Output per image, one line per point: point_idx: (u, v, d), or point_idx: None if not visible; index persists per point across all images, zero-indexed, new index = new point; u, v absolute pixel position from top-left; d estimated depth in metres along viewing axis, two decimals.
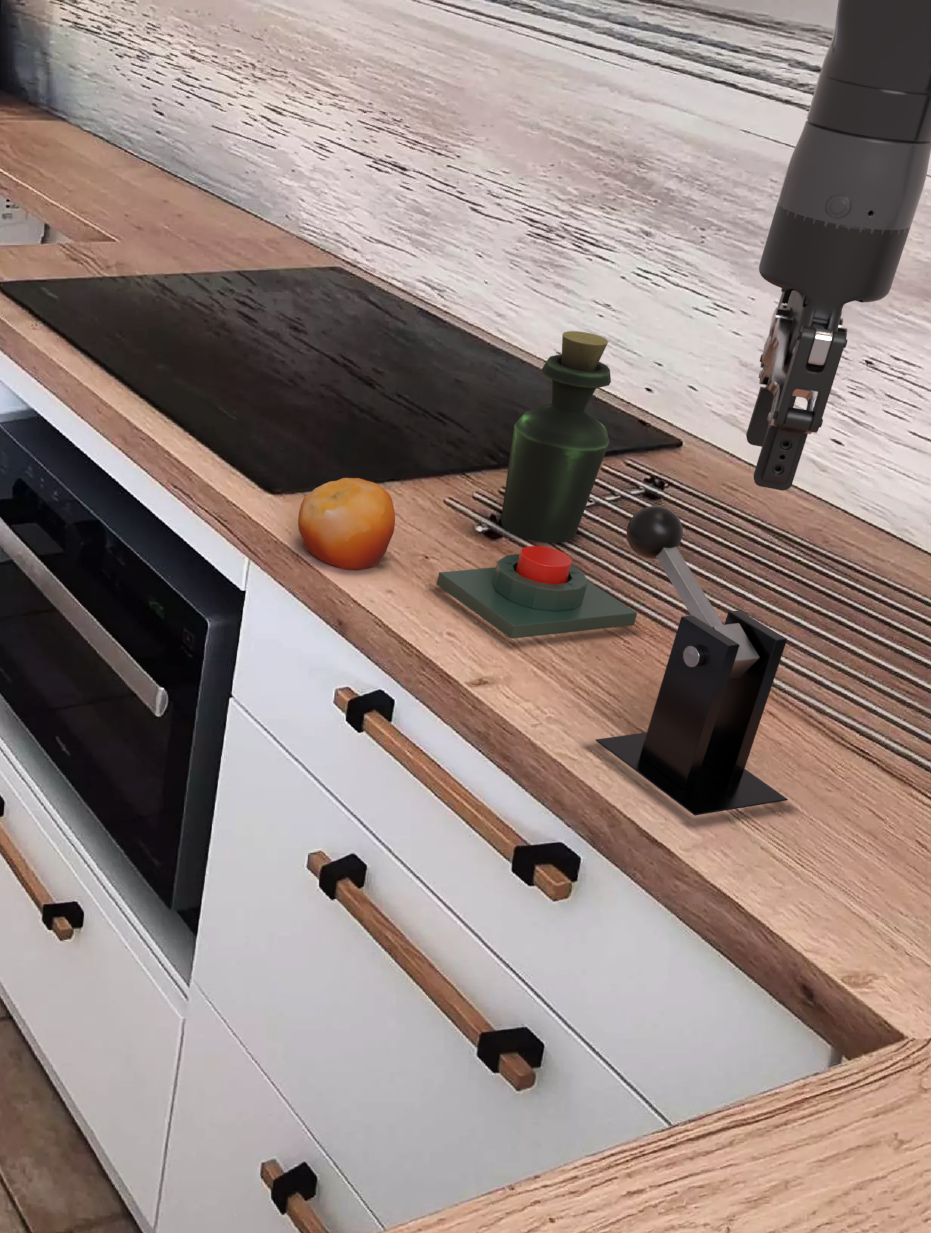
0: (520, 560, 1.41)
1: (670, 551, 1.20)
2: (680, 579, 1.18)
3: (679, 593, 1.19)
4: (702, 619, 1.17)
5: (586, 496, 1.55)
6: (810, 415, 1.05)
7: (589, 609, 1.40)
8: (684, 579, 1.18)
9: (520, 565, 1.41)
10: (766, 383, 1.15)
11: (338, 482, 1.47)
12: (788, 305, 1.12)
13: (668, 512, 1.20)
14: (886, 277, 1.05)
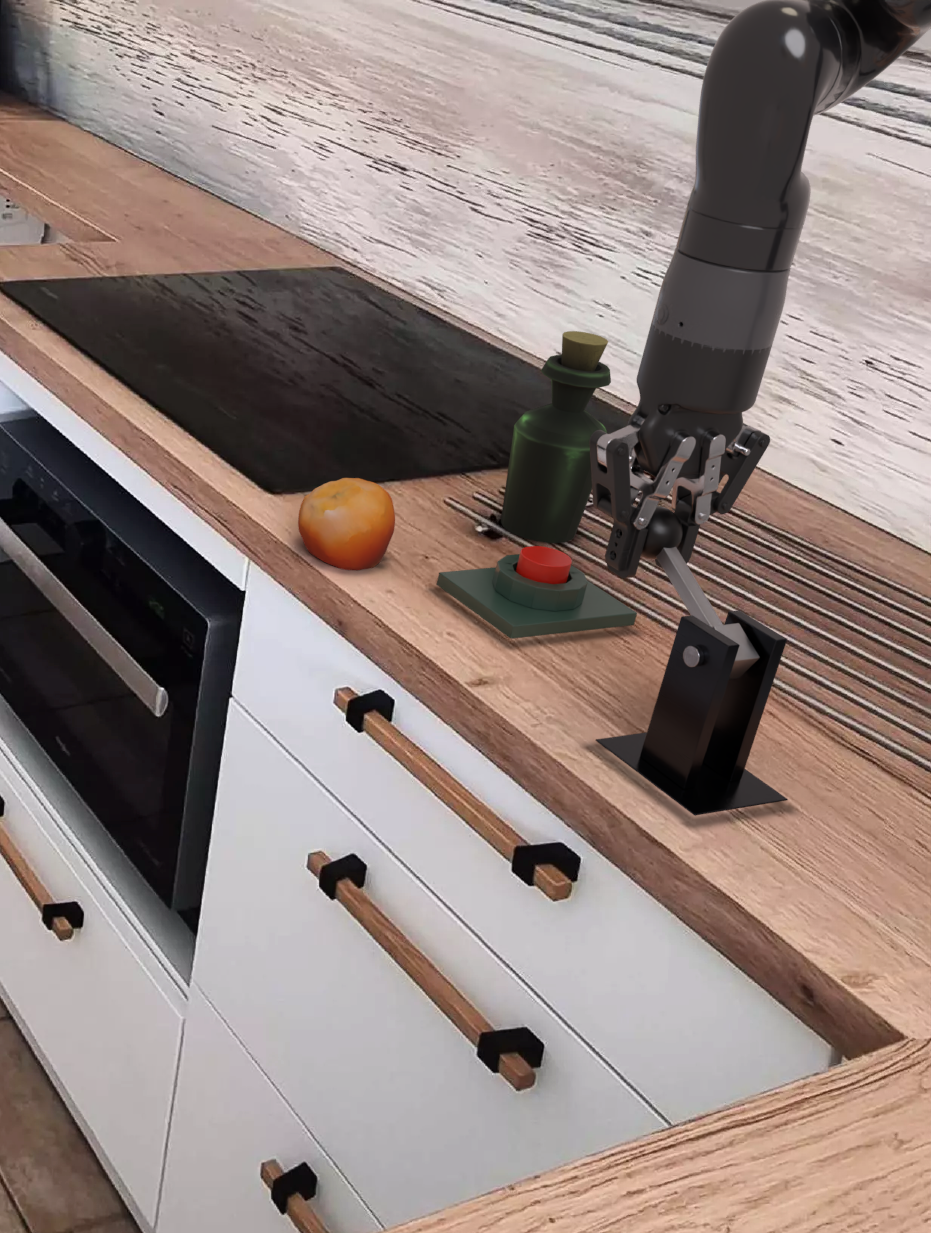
0: (520, 560, 1.41)
1: (670, 551, 1.20)
2: (680, 579, 1.18)
3: (679, 593, 1.19)
4: (702, 619, 1.17)
5: (586, 496, 1.55)
6: None
7: (589, 609, 1.40)
8: (684, 579, 1.18)
9: (520, 565, 1.41)
10: (675, 510, 1.22)
11: (338, 482, 1.47)
12: None
13: (668, 512, 1.20)
14: (705, 390, 1.13)
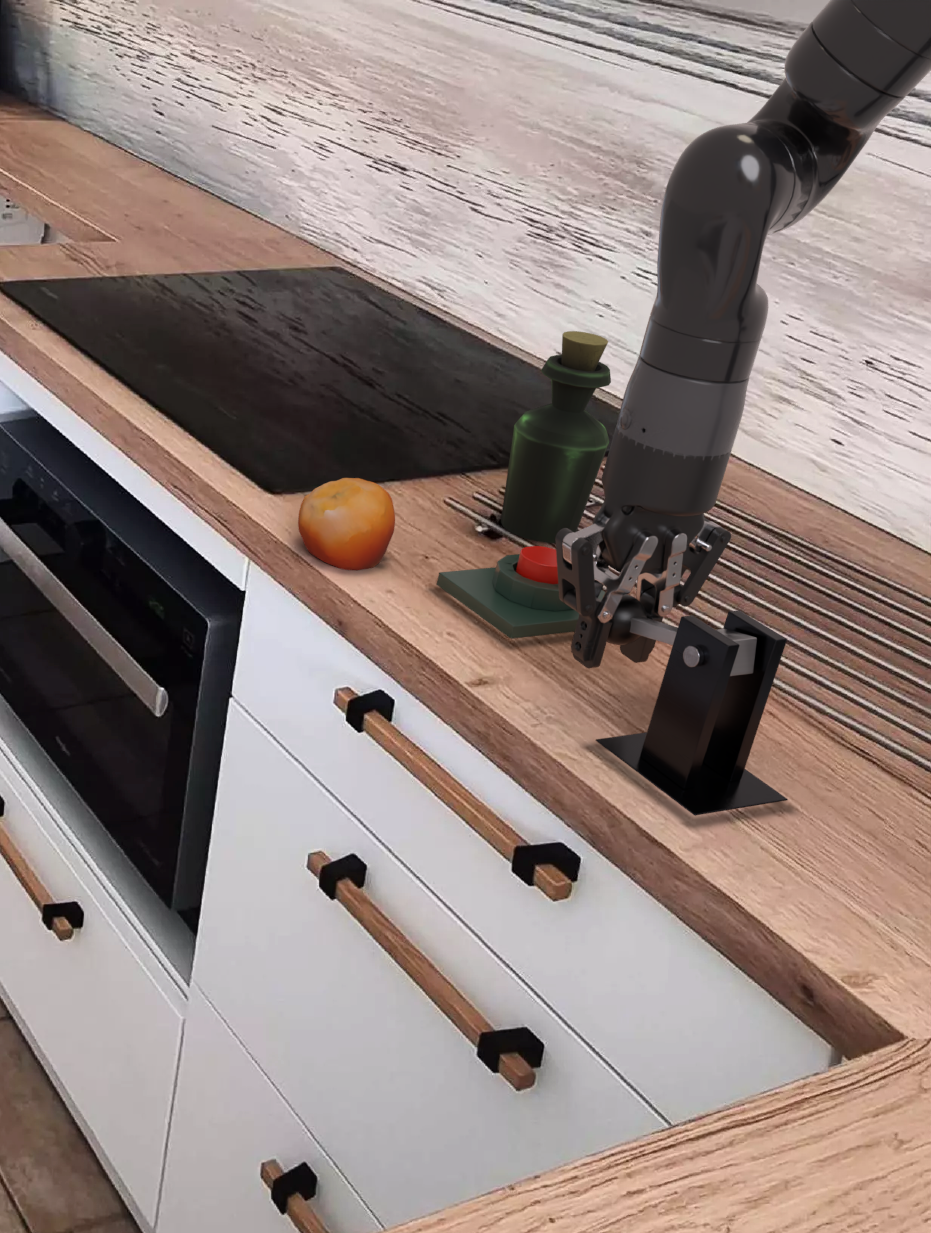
0: (520, 560, 1.41)
1: (638, 618, 1.23)
2: (657, 628, 1.21)
3: (663, 640, 1.21)
4: None
5: (586, 496, 1.55)
6: None
7: None
8: (660, 626, 1.21)
9: (520, 565, 1.41)
10: None
11: (338, 482, 1.47)
12: None
13: None
14: (667, 493, 1.17)
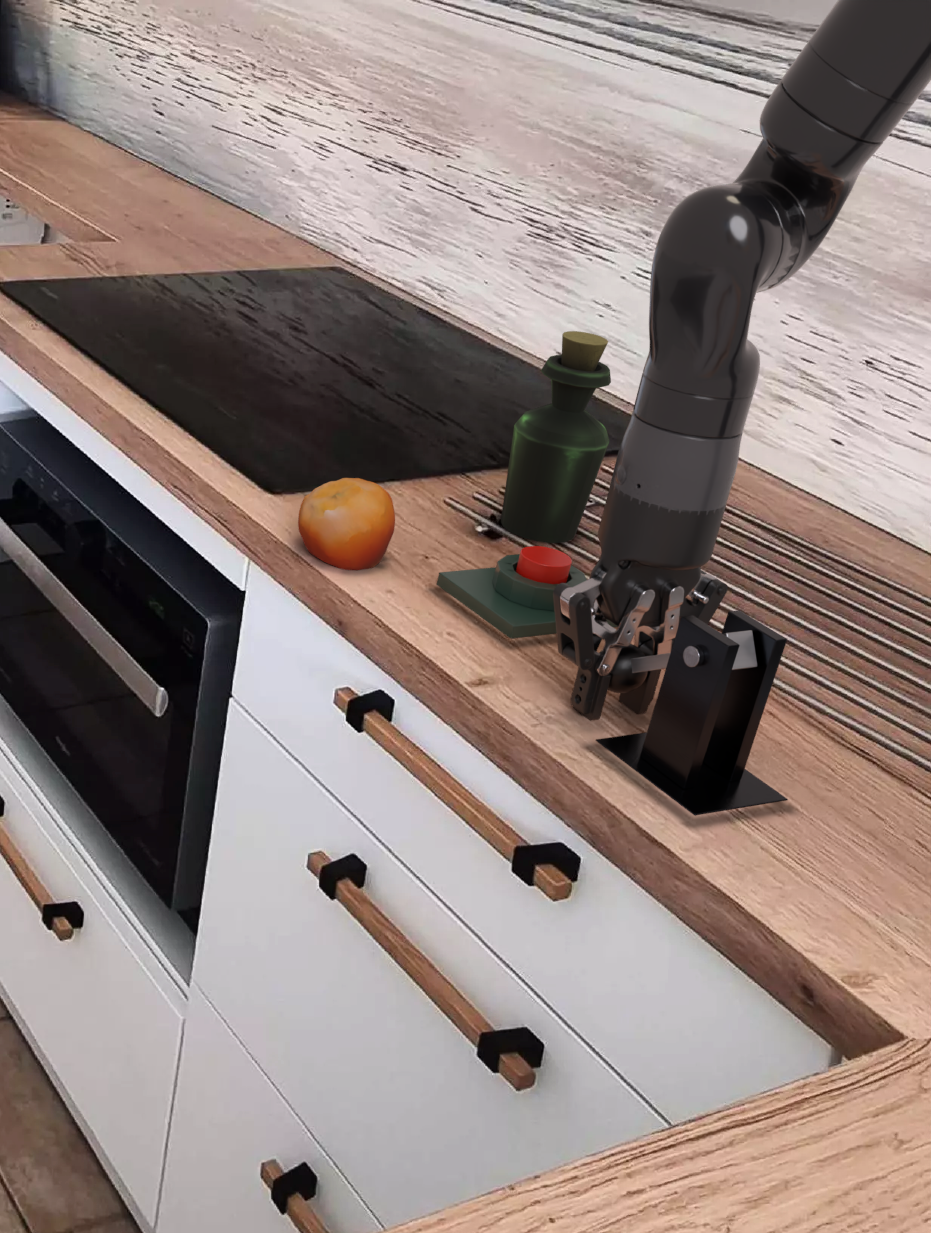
0: (520, 560, 1.41)
1: None
2: (656, 657, 1.21)
3: (665, 666, 1.21)
4: None
5: (586, 496, 1.55)
6: None
7: None
8: (659, 654, 1.21)
9: (520, 565, 1.41)
10: None
11: (338, 482, 1.47)
12: None
13: None
14: (663, 548, 1.17)
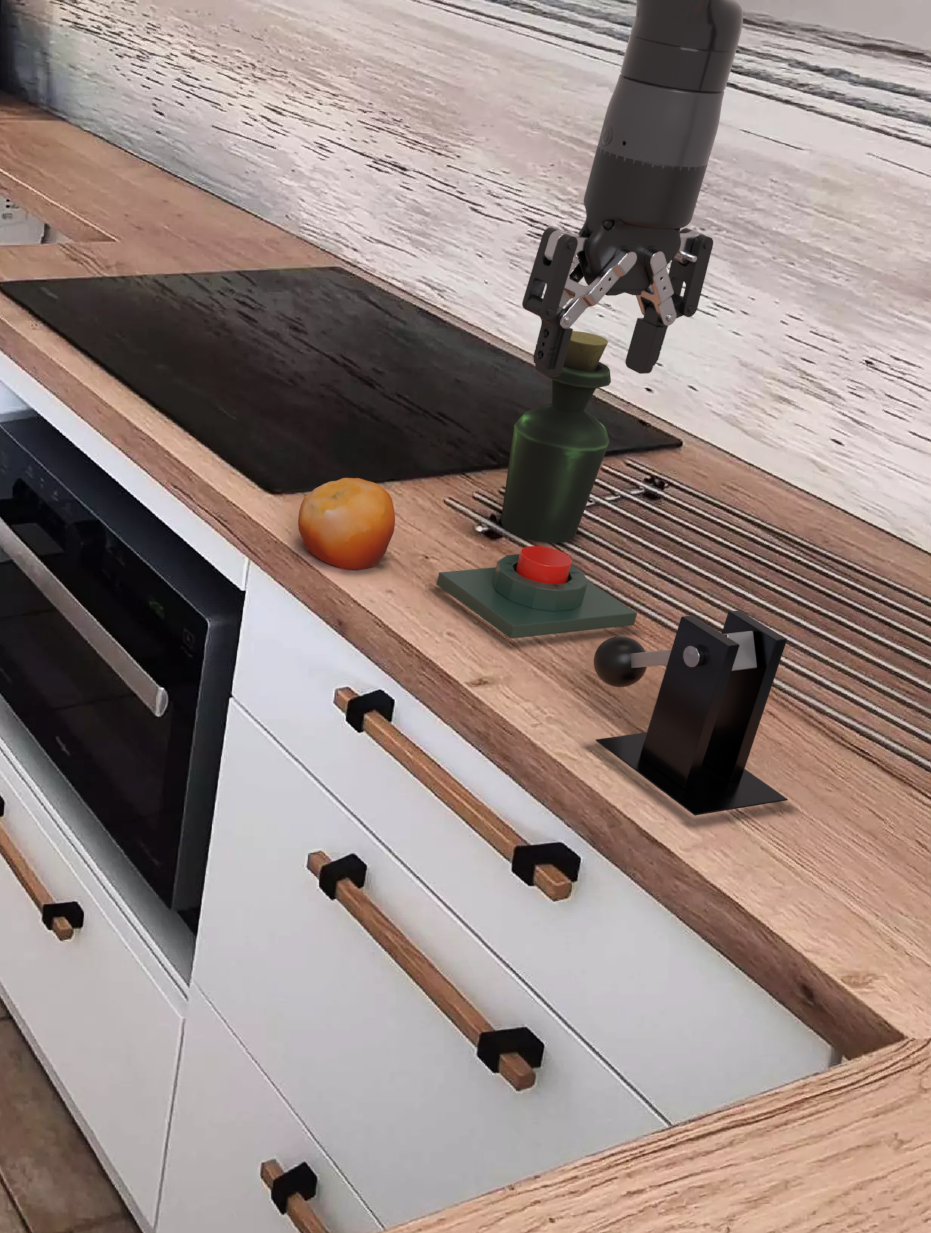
0: (520, 560, 1.41)
1: (637, 652, 1.23)
2: (656, 653, 1.21)
3: (664, 663, 1.21)
4: None
5: (586, 496, 1.55)
6: (542, 303, 1.26)
7: (589, 609, 1.40)
8: None
9: (520, 565, 1.41)
10: (644, 314, 1.32)
11: (338, 482, 1.47)
12: None
13: None
14: (646, 205, 1.22)
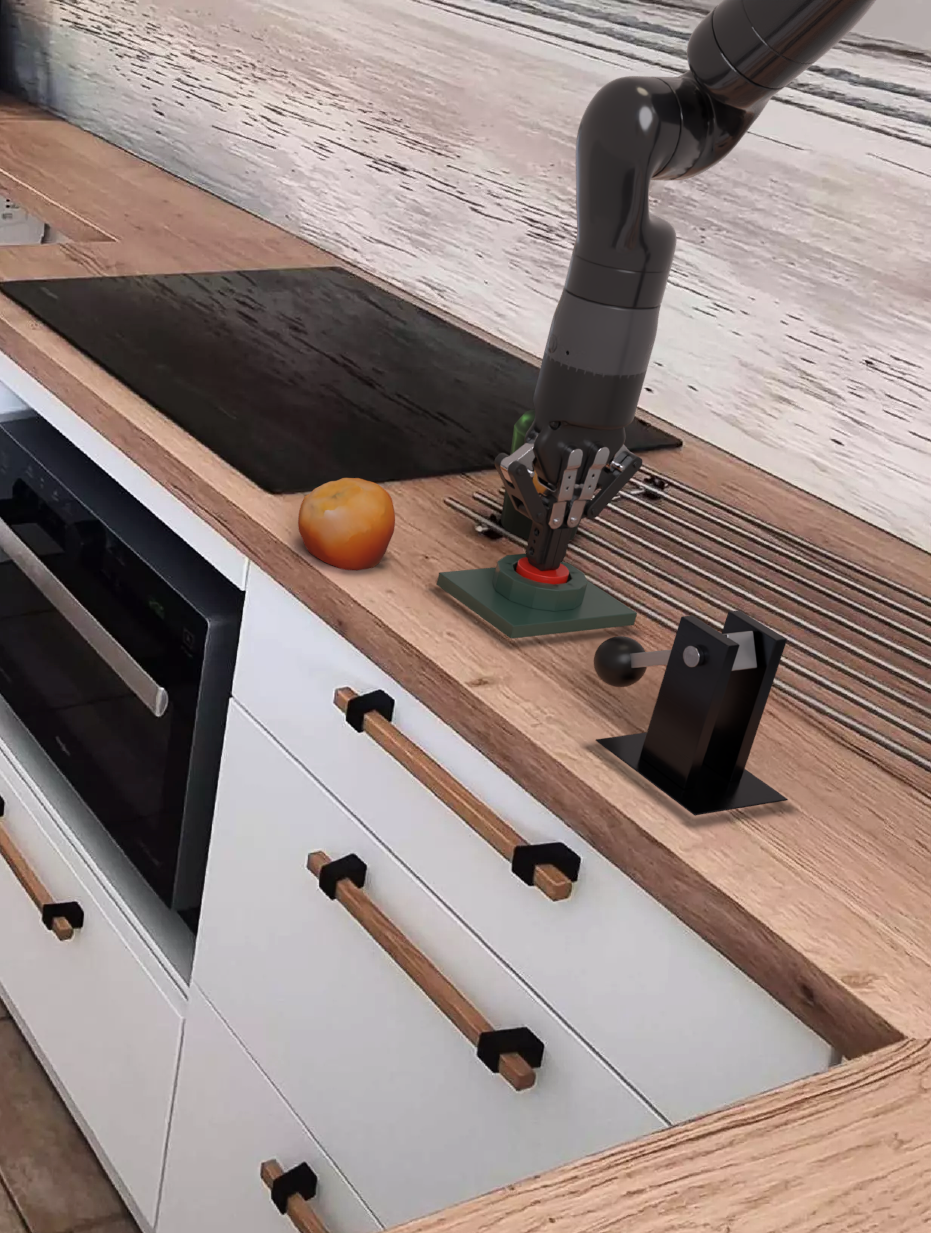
0: (517, 571, 1.41)
1: (637, 652, 1.23)
2: (656, 653, 1.21)
3: (664, 663, 1.21)
4: None
5: None
6: None
7: (589, 609, 1.40)
8: None
9: None
10: None
11: (338, 482, 1.47)
12: None
13: None
14: (589, 409, 1.31)
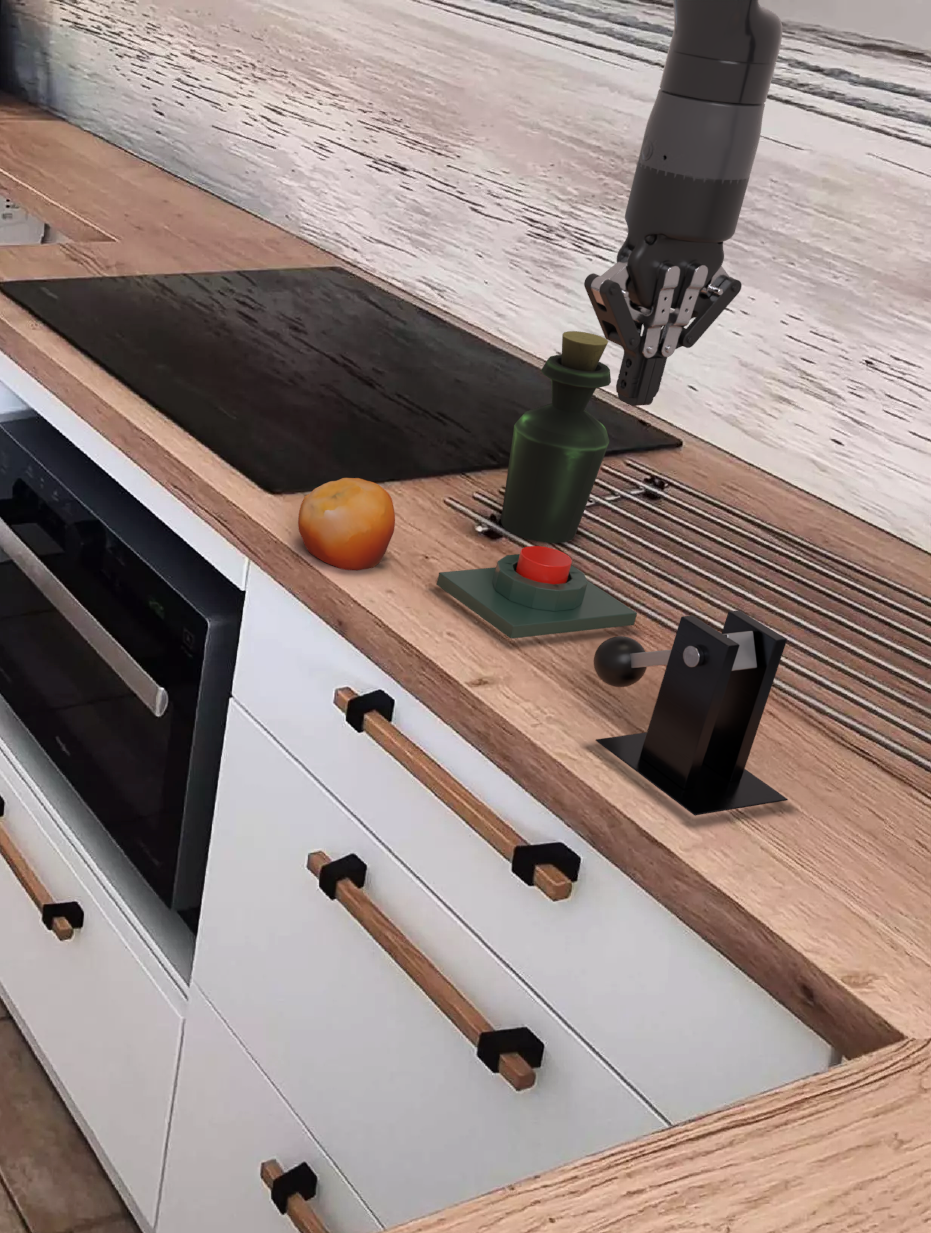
0: (520, 560, 1.41)
1: (637, 652, 1.23)
2: (656, 653, 1.21)
3: (664, 663, 1.21)
4: None
5: (586, 496, 1.55)
6: None
7: (589, 609, 1.40)
8: None
9: (520, 565, 1.41)
10: None
11: (338, 482, 1.47)
12: None
13: None
14: (688, 218, 1.22)
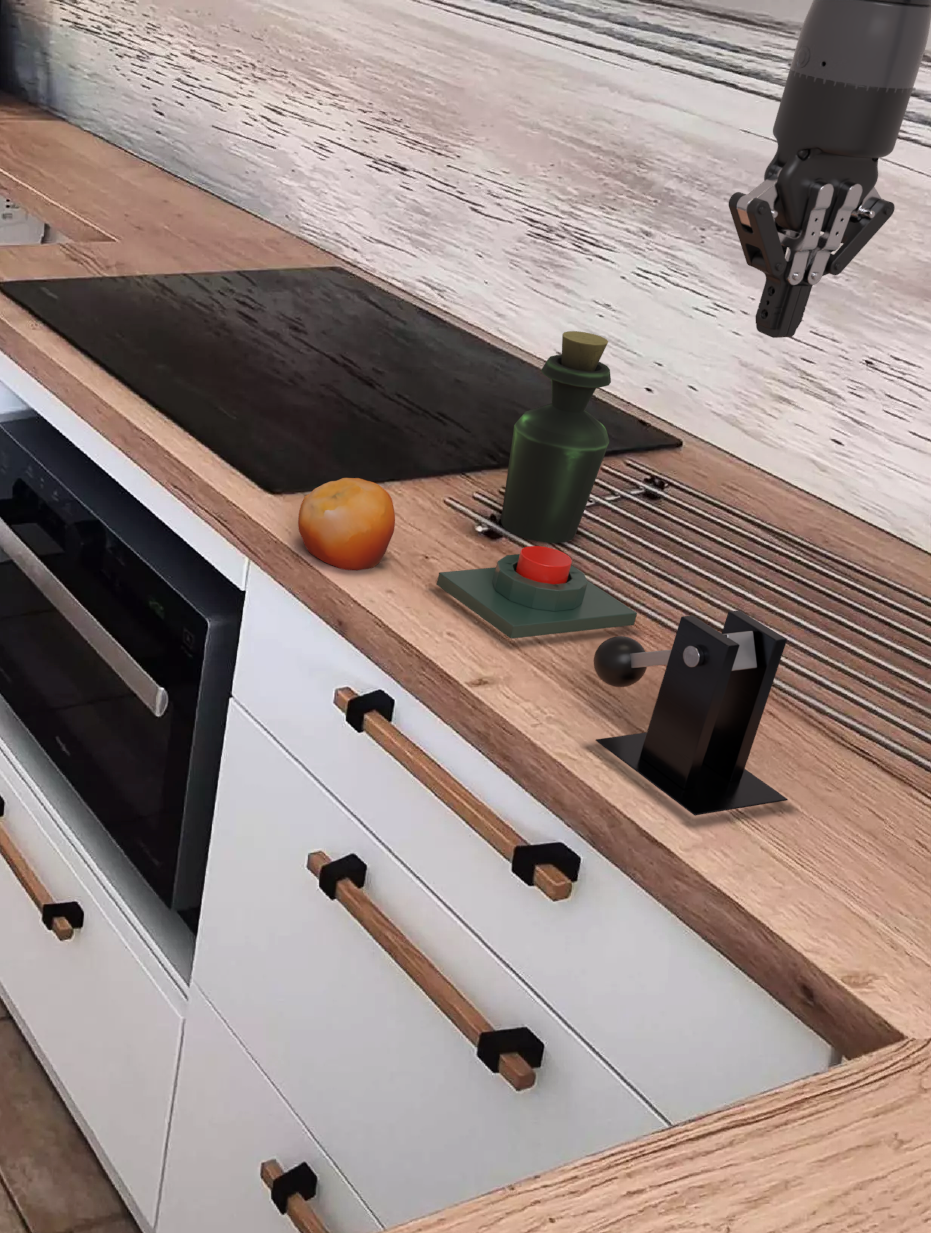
0: (520, 560, 1.41)
1: (637, 652, 1.23)
2: (656, 653, 1.21)
3: (664, 663, 1.21)
4: None
5: (586, 496, 1.55)
6: None
7: (589, 609, 1.40)
8: None
9: (520, 565, 1.41)
10: None
11: (338, 482, 1.47)
12: None
13: None
14: (847, 131, 1.13)
